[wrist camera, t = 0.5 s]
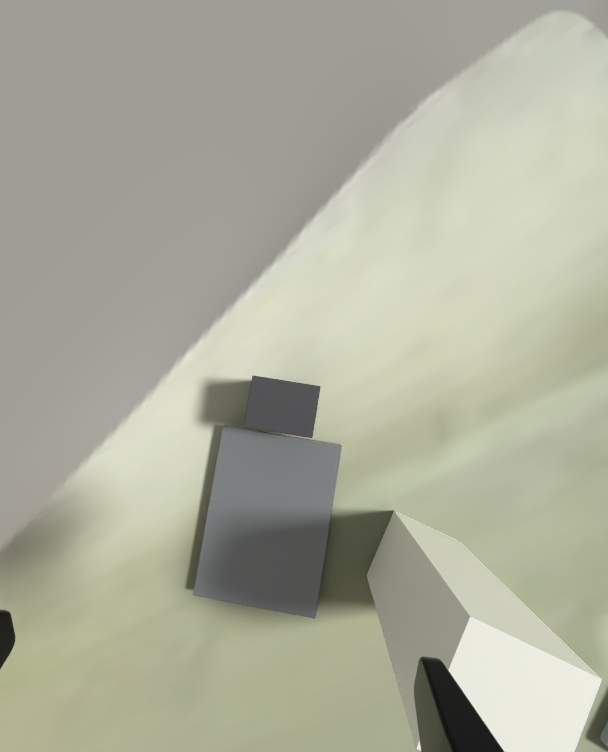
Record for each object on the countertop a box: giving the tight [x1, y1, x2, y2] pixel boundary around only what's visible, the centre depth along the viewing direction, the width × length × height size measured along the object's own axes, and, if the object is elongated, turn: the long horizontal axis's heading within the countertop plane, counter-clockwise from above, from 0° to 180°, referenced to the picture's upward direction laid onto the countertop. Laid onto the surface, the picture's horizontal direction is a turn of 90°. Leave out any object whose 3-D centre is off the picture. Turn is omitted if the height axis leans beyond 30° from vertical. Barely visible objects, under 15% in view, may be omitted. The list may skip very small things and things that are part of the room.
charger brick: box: [367, 511, 602, 752], centre depth 18 cm, size 5×5×12 cm
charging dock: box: [193, 376, 342, 618], centre depth 22 cm, size 14×8×4 cm, turn 171°
